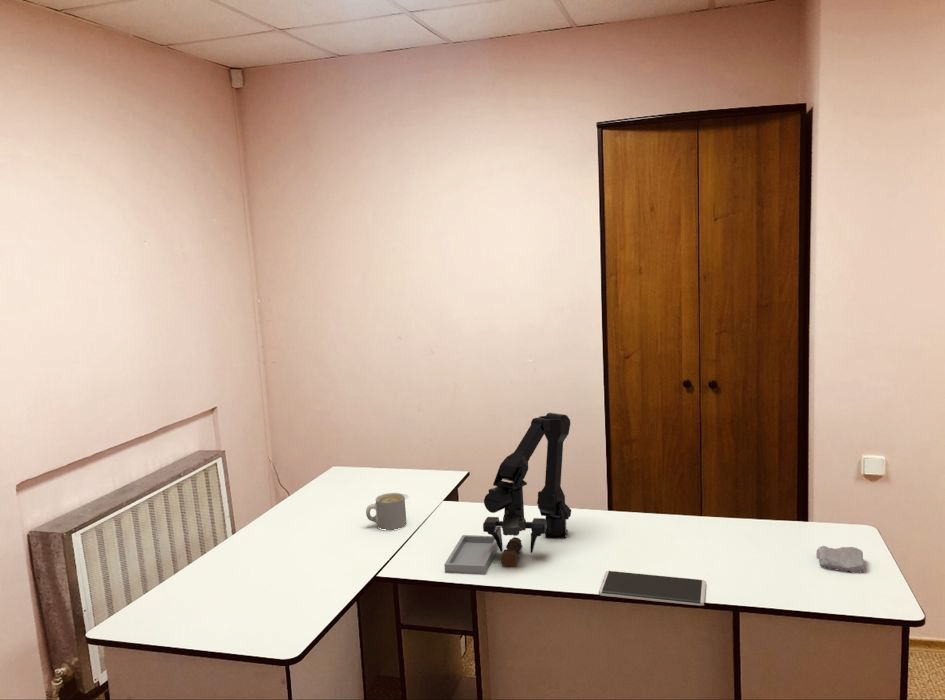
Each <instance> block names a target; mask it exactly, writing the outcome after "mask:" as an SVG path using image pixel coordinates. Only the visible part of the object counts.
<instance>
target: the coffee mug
mask: <svg viewBox="0 0 945 700" xmlns="http://www.w3.org/2000/svg"><path fill="white" fill-rule="evenodd" d="M372 509H374V510H375V516H372V515H371V510H372ZM406 509H407V508H406V498H405V495H404V494H403V493H400V492H388V493H383V494H380V495H378V496H376V497H375V503H371V504H369V505H367V507H366V509H365V510H366V511H365V515H366V517H367V519H368V520H369V521H371V522H374V523H376V524H377V525H376V526H377V528H378V527H379V528H381V529H386V530H394V529H398V528H402V527H404V526H405V525H406V524H407V511H406ZM406 526H407V525H406ZM406 526H405V527H406ZM405 527H404V528H405ZM379 528H378V529H379ZM402 529H403V528H402ZM394 531H395V530H394Z"/></svg>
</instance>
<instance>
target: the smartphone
mask: <svg viewBox="0 0 945 700" xmlns="http://www.w3.org/2000/svg"><path fill="white" fill-rule="evenodd" d="M706 587H707V581H705V580H704V579H696V578H688V577H687V578H686V577H685V578H684V577H676V576H675V577H674V576H666V575H664V576H663V575H656V574H655V575H654V574H647V573H646V574H645V573H634V572H625V571H616V570H615V571H614V570H613V571H612V570H607V571H605V573H604V576H603V579H602V581H601V583H600V587H599V590H598V595H599V596H602V597H612V598H620V599H621V598H622V599H632V600H639V601H640V600H643V601H651V602H661V603H671V604H672V603H673V604H678V605H679V604H682V605H690V606H700V607H701V606H705V604H704V603H706V602H705V600H706V591H705V589H706ZM706 590H707V589H706Z"/></svg>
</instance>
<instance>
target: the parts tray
mask: <svg viewBox="0 0 945 700" xmlns="http://www.w3.org/2000/svg"><path fill="white" fill-rule="evenodd" d="M498 549H499V547H498V545H497V542H496V540H495V538H494V537H493V536H492V535H470V534H462V535H461V537H460V539H459V541H458V542H457V544H456V545H455V546H454V548H453V550H452V552H451V553H450V554H449V556H448V558H447V559H446V561H445V562H444V573H445V574H447V573H451V574H469V575H470V574H471V575H486V573H487V571H488V569H489V567H490V565H491V562H492V561H493V558H494V557H495V554H496V553H497V550H498Z"/></svg>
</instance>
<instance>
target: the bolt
mask: <svg viewBox="0 0 945 700" xmlns="http://www.w3.org/2000/svg"><path fill="white" fill-rule="evenodd" d="M522 549H523V544H522V540H521V538H519V537H516V536H514V537H511V539H509V540H508V542H507V544H506V545H505V549H503V551H502V552H501V555H500V556H499V558H498V559H499V562H500V563H501V565H502V566H503V568H506V569H507V568H509V569H510V568H512V569H513V568H515V567H516V566H517V564H518V562H519V560H520V557H519V555H518V554H520V552H521V550H522Z"/></svg>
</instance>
